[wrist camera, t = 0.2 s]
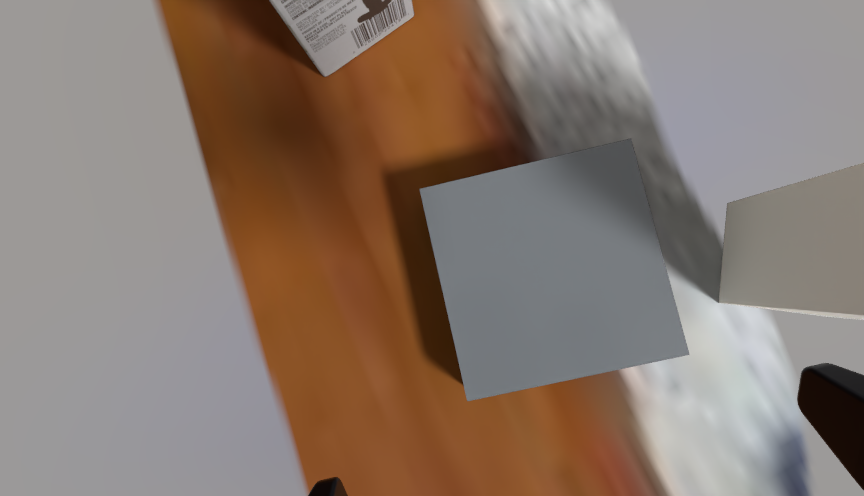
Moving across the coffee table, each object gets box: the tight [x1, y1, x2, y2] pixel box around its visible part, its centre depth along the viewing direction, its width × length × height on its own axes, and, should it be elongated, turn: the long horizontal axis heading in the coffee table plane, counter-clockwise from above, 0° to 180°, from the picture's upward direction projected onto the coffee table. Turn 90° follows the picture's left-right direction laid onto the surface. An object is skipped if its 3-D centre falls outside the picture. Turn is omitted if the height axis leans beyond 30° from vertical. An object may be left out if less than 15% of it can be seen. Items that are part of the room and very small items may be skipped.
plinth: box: [420, 139, 689, 401], centre depth 22 cm, size 10×10×2 cm
